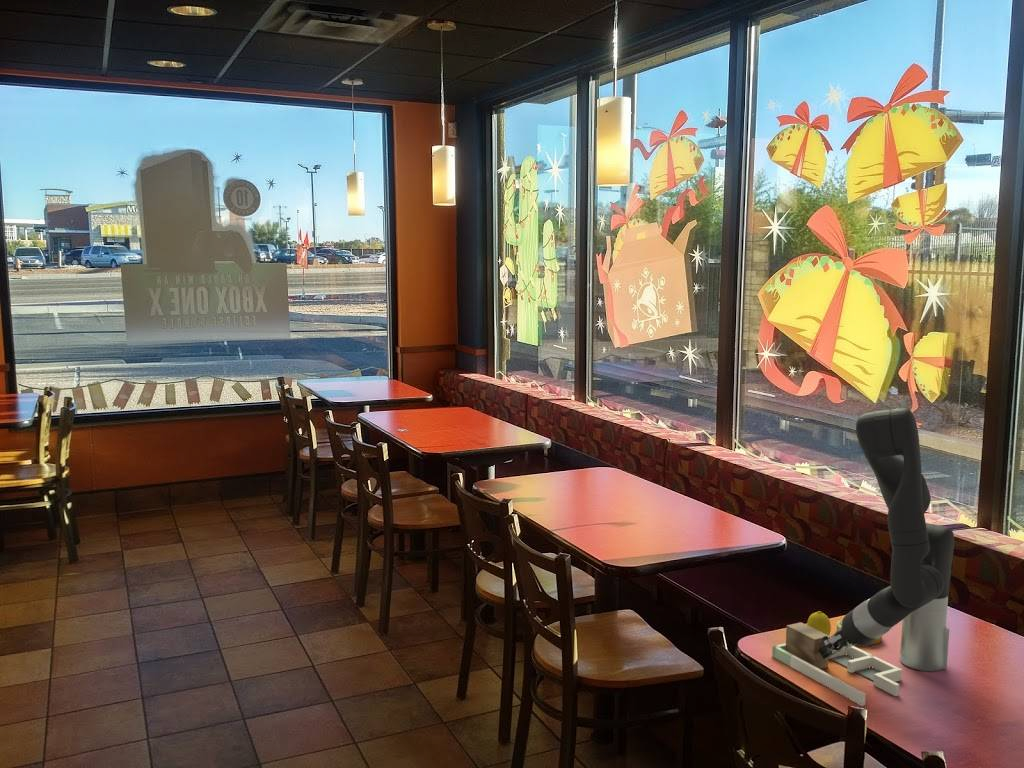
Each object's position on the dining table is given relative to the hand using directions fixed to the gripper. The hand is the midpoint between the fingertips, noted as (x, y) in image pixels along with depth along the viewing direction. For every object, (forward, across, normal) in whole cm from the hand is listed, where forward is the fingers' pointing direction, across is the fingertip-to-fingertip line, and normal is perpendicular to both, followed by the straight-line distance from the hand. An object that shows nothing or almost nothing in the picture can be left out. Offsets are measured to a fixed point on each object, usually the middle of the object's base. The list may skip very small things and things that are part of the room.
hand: (823, 654), depth 205 cm
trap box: (-1, -3, +7) cm, 8 cm away
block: (+6, 0, -1) cm, 6 cm away
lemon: (+11, -10, -6) cm, 16 cm away
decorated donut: (+10, -22, -4) cm, 24 cm away
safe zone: (+7, 0, -2) cm, 8 cm away
